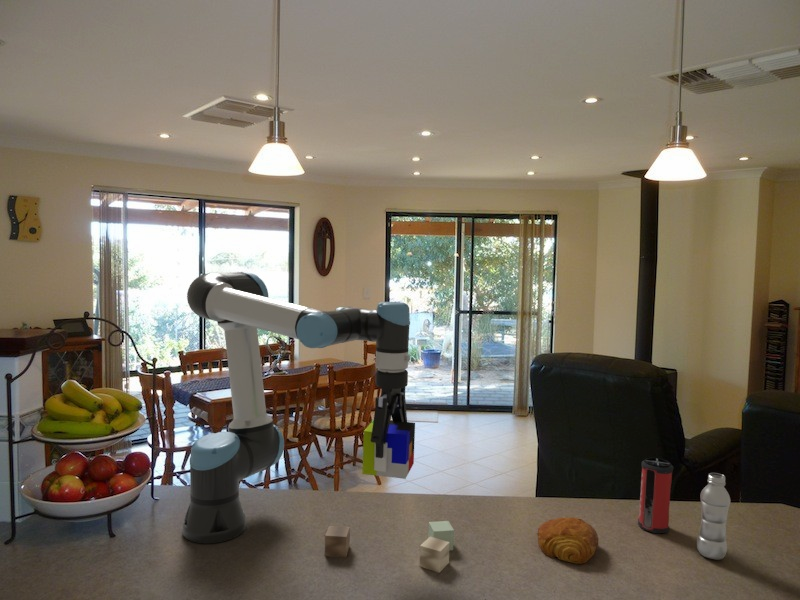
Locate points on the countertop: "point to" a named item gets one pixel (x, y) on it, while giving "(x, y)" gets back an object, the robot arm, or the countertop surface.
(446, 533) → the sage painted block
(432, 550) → the maple block
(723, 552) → the plastic bottle
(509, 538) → the countertop surface
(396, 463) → the puzzle toy
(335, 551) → the brown wooden cube
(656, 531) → the speaker
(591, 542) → the croissant
